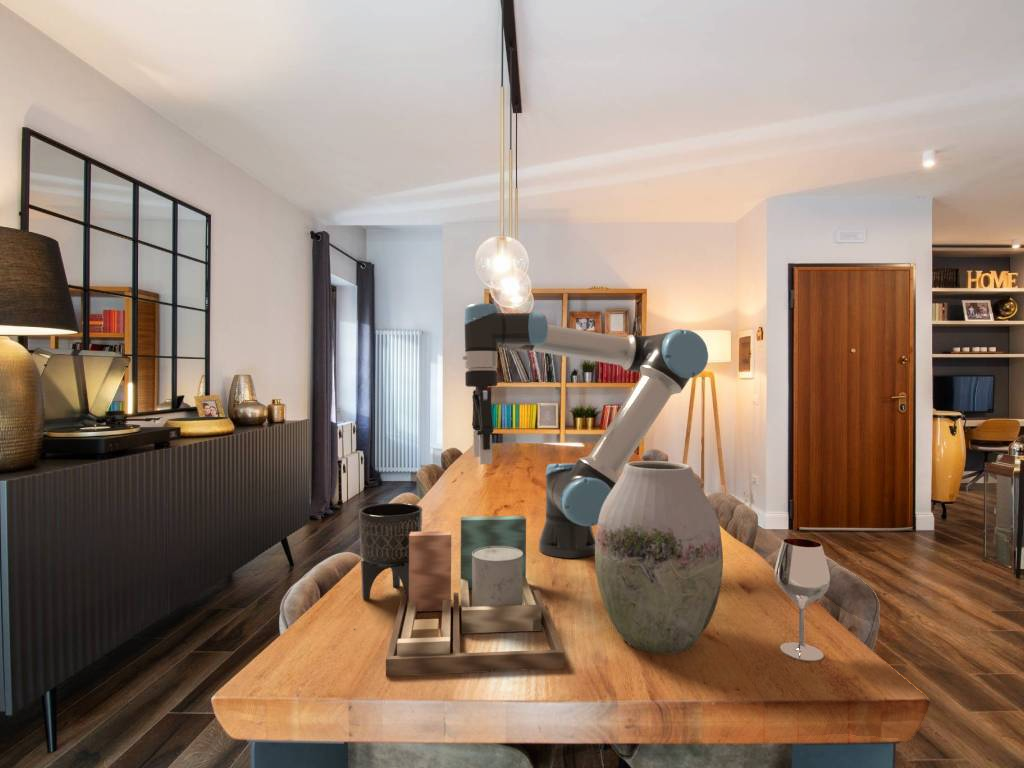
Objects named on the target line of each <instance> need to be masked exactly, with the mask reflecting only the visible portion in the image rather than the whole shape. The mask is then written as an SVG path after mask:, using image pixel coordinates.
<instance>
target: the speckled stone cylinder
mask: <svg viewBox="0 0 1024 768" xmlns="http://www.w3.org/2000/svg"><path fill="white" fill-rule="evenodd" d="M522 563H523V552H522V551H521V550H519V549H517V548H513V547H507V546H488V547H482V548H478V549H476V550H474V551H473V552H472V588H471V607H482V606H513V605H523V598H522Z"/></svg>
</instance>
